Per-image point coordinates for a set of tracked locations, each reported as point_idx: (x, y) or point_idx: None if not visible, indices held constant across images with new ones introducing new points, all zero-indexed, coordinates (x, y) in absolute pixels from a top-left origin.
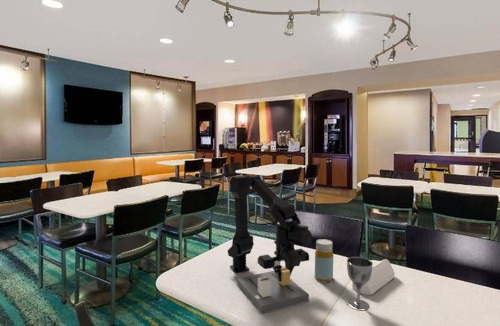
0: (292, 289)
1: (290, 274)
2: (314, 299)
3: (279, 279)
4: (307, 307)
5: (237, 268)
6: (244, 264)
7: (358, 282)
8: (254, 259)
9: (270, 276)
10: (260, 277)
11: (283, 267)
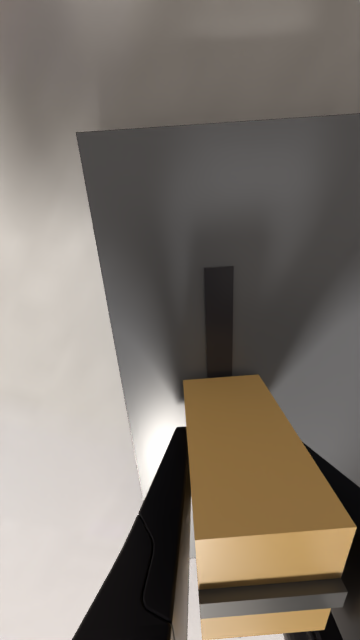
0: (201, 299)
1: (160, 478)
2: (39, 172)
3: None
4: (161, 55)
5: None
6: (327, 634)
7: None
8: (196, 634)
9: None
10: None
11: (231, 628)
